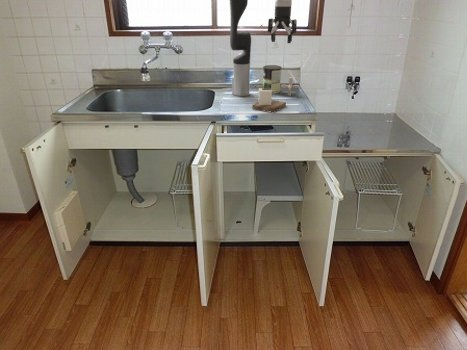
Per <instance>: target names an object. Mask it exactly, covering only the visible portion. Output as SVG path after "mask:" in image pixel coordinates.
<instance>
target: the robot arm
mask: <svg viewBox="0 0 467 350" xmlns="http://www.w3.org/2000/svg"><path fill="white" fill-rule="evenodd" d="M274 2H275V3H274V18H272V17H271V18H269V19H268V20H267V21H268V23H267V32H268V33H269V34H271V35H270V36H271V37H270V40H271V43H275V42H276V34H277V33H276V32H277V31H278V30H285V31H286V32H287V44H291V43H292V42H293V41H292V40H293V39H292V38H293V35H294V34H296V33H297V24H298V23H297V22H298V21H297V19H291V15H292V4H293V3H292V0H275V1H274ZM247 6H248V0H229V12H230V14H229V15H230V26H229V27H230V32H229V33H230V34H229V35H230V37H229V43H230V48H231V50H232V51H242V52H241V53H240V54H238V55H236V56H234V57H233V60H232V61H233V62H232V64H233V70H232V71H233V73H232V74H233V76H232V77H231V95H233V96H237V97H246V96H250V92H251V91H250V89H251V88H250V83H251V81H250V80H251V79H250V77H251V75H250V74H251V48H252V35H251V33H250V31H238V26H239V22H240V20H241V18H242V17H243V14H244V13H245V10H246V9H247V8H248V7H247ZM290 24H291V26H290Z"/></svg>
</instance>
